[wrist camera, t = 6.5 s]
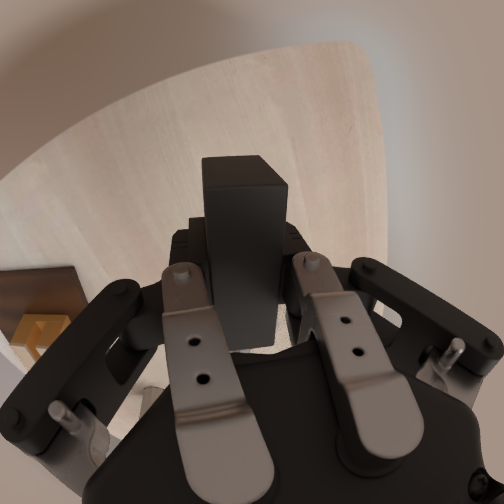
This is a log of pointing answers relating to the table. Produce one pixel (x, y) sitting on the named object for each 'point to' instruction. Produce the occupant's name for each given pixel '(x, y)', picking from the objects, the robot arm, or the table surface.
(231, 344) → the kitchen blade
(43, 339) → the orange u-shaped channel
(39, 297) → the board
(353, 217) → the table surface
